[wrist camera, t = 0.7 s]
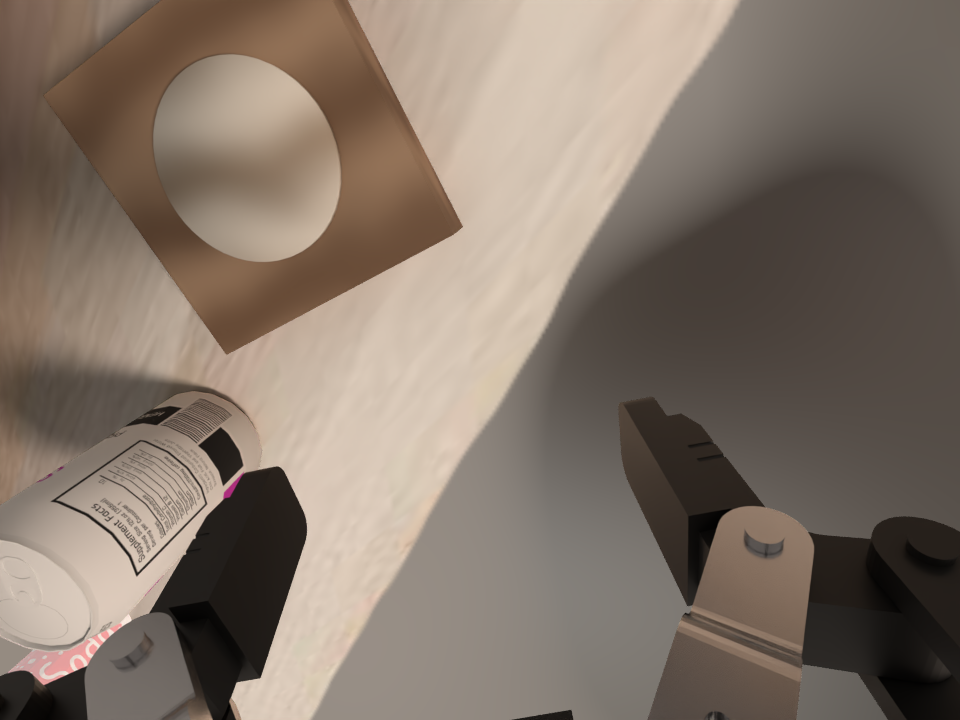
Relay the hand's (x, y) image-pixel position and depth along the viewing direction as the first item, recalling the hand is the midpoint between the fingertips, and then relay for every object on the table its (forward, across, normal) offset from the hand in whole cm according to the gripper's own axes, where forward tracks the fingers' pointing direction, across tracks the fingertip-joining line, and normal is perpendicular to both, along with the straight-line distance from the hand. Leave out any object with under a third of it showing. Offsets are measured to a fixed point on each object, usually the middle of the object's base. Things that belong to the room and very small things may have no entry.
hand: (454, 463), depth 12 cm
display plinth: (+23, +9, -6) cm, 25 cm away
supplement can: (+22, +20, +11) cm, 32 cm away
